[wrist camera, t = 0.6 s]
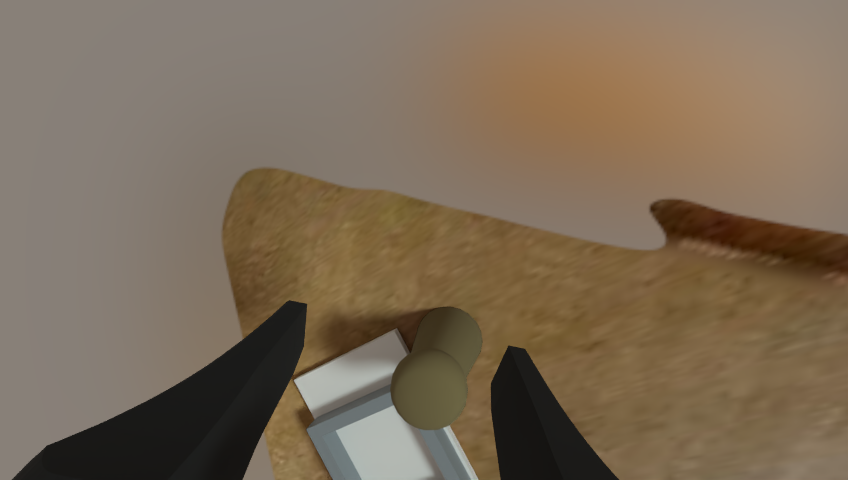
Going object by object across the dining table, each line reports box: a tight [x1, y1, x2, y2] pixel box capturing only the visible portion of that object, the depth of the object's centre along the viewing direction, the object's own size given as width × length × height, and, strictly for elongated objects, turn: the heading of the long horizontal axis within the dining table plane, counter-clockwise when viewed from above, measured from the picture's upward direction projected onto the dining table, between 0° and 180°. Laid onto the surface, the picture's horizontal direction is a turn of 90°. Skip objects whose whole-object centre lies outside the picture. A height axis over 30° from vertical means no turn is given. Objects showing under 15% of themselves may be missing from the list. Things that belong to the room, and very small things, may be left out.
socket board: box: [294, 328, 478, 480], centre depth 35 cm, size 16×12×3 cm
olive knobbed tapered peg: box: [390, 307, 482, 430], centre depth 29 cm, size 6×6×11 cm
